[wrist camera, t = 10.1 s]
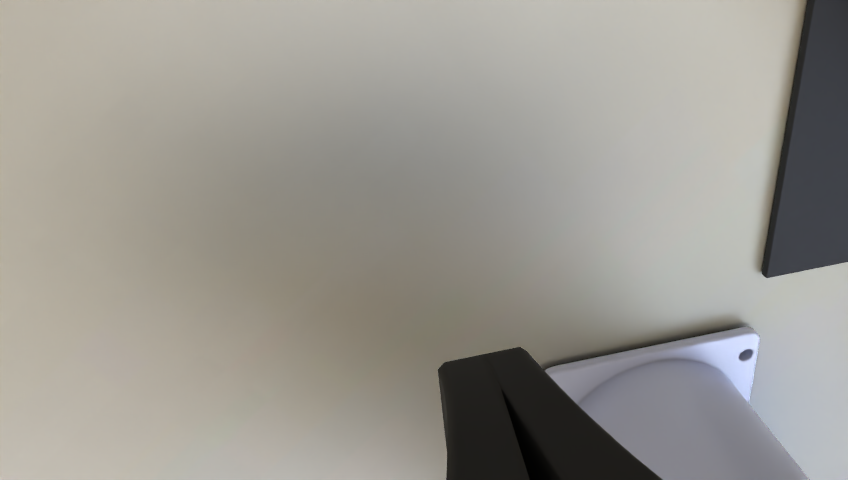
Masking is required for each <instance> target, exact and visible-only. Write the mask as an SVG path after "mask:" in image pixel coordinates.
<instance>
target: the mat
mask: <svg viewBox="0 0 848 480" xmlns="http://www.w3.org/2000/svg"><path fill="white" fill-rule="evenodd" d="M844 262H848V0H808V3H807V9H806V15H805V21H804V27H803V33H802V39H801V45H800V50H799V56H798V62H797V68H796V74H795V80H794V86H793V92H792V98H791V104H790V110H789V115H788V121H787V127H786V133H785V139H784V145H783V151H782V157H781V163H780V169H779V174H778V180H777V186H776V192H775V198H774V204H773V210H772V216H771V222H770V228H769V234H768V239H767V245H766V251H765V257H764V263H763V269H762V274H763V275H764V276H765V277H766V278H769V277H774V276H779V275H784V274H789V273H794V272H799V271H804V270H809V269H814V268H819V267H824V266H829V265H834V264H839V263H844Z"/></svg>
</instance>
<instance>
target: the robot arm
mask: <svg viewBox="0 0 848 480" xmlns="http://www.w3.org/2000/svg"><path fill="white" fill-rule="evenodd" d="M759 344H760V336H759V335H758V333H757V332H756V331H755V330H754V329H753V328H751V327H741V328H737V329H732V330H727V331H722V332H717V333H712V334H707V335H703V336H698V337H693V338H688V339H683V340H678V341H674V342H669V343H664V344H659V345H654V346H649V347H644V348H640V349H635V350H630V351H625V352H620V353H615V354H611V355H606V356H601V357H596V358H591V359H586V360H581V361H577V362H572V363H567V364H562V365H557V366H553V367H550V368H547V369H546V370H545V371H544V370H543V369H542V368H541V366H540V365H539V364H538V363H537V362H536V361H535V360H534V359H533V358H532V357H531V355H530V354H529V353H528V352H527V351H526V350H524V349H523V348H521V347H517V348H512V349H507V350H502V351H498V352H493V353H488V354H483V355H478V356H473V357H468V358H463V359H458V360H454V361H449V362H444V363H443V364H442V365H441V367H440V368H439V369H438V376H439V385H440V394H441V402H442V411H443V420H444V429H445V438H446V446H447V478H446V480H810V479H809V478H808V477H807V476H806V474H805V473H804V472H803V471H802V469H801V468H800V467H799V466H798V464H797V463H796V462H795V461H794V459H793V458H792V457H791V456H790V454H789V453H788V452H787V451H786V449H785V448H784V447H783V446H782V444H781V443H780V442H779V441H778V439H777V438H776V437H775V436H774V434H773V433H772V432H771V431H770V429H769V428H768V427H767V426H766V424H765V423H764V422H763V421H762V419H761V418H760V417H759V416H758V414H757V413H756V412H755V411H754V409H753V408H752V407H751V406H750V404H749V400H750V395H751V389H752V383H753V378H754V372H755V366H756V361H757V355H758V350H759ZM742 351H743V352H742ZM741 352H742V353H741Z"/></svg>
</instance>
